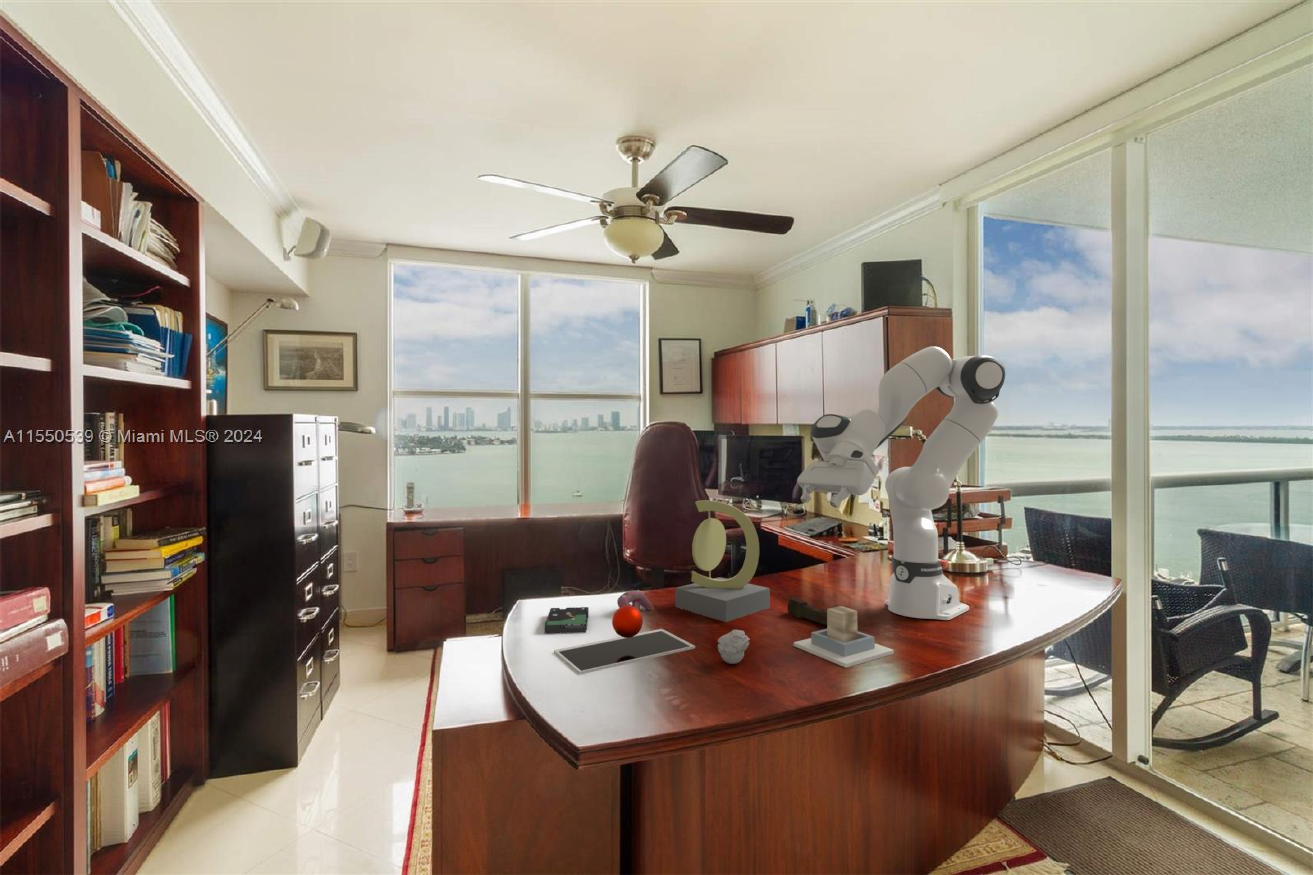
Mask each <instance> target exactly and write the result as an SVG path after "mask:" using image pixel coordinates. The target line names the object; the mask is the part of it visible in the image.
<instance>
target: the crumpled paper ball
mask: <svg viewBox="0 0 1313 875" xmlns="http://www.w3.org/2000/svg"><path fill="white" fill-rule="evenodd" d="M750 640H751V638H749V637H748V635H746V633H745V631H744V630H741V629H740V630H739V629H732V630H731V631H730V632H728V633H727V634H726V633H725V634H724V635H722V636H720V637H719V638H718V639H717V643H718V644H717V651H718V652H719V654H720V656H721V658H722V660H723V661H724V662H726V664H731V665H736V664H738V663H740V662H741V661H742V660H743V658H744V656H745V651H747V648H748V647H749V646H750Z"/></svg>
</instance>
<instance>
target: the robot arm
mask: <svg viewBox="0 0 1313 875" xmlns="http://www.w3.org/2000/svg"><path fill="white" fill-rule="evenodd" d="M1005 379H1006V369H1005V367H1004V365H1003V363H1002V362H1001V361H1000V360H999V359H997V358H995V357H993V356H990V355H985V354H983V355H982V354H981V355H968V356H962V357H957V358H951V356H950V355H949V353H948V352H947V351H945V350H944V349H943V348H941V347H938V346H936V345H935V346H933V345H931V346H928V347H924V348H923V349H921V350H918V351H917V352H915V353H913V354H911V355H909V356H908V357H906V358H904V359H903V360H901V361H900V362H898V363H897V364H896V365H893V367H891V368H890V369H889V370H888V371H886V372H885V373H884V375H882V377H881V380H880V382H879V386H878V410H877V412H875V411H873V410H872V409H871V410H870V409H866V408H865V409H861V410H860V411H857V412H856V413H853V414H848V415H839V414H833V413H826V414H824V415H822V416H821V417H819V418H818V419H816V421H815V422H813V425H812V427H811V430H810V435H811V438H812V439H813V441H814V444H815V445H816V449H817V450H818V452H819V454H820V455H821V457H822V460H821V459H820V460H816V461H814V462H811V463H810V464H808V465H807V466H806V467H805V468H804V470H803V471H802V472H801V473H800V474H799V475H798V477H797V479H796V481H797V485H799V487H800V488H801V489H802V492H803V493H802V495H801V497H800V500H801V501H802V502H803V503H806V504H807V503H809V502H810V501H811V500H812V497H811V496H810V495H811V494H813V493H814V492H820V493H830V494H831V493H832V494H836V495H832V496H831V498H830V499H829V504H830V505H831V506H832V507H838V506H839V505H840V503H841V502H843V501H845V500H846V499H847V498H849V497H850V495H854V496H862V495H864V494H866V493H867V492H868V491H869V489H870V488H871V487H872V486H873V485H872V484H873V483H874V481H875V479H876V478H875V477H876V476H877V475H878V474H879V473H880V470H879V468H878V466H877V464H876V463H875V462H874V460H873V459H872V457H871V455H872V453H874V452H875V451H876V450H877V449H878V448H879V447H880V446H881V445H882V444H884V442H886V441H887V440H888V439H889V438H890V437H891V436H892V435H893V434H895V432H896V431H897V430H898V429H899V428H901V426H902V425H904V423H905V421H906V419H907V418H908V415H909V414H910V412H911V410H912V409H913V407H914V406H915V405H916V404H917V403H918V402H919V401H921V399H923V397H925V396H927V394H929V393H930V392H932V391H933V390H936V391H937V392H939V393H940V394H941V395H943V396H945V397H948V398H954V403H953V405H952V408H951V410H950V411H949V413H948V414H946V416H944V418H943V419H942V420H941V421H940V423H939V424H938V425H937V427H936V428H935V429H934V430H933V432H932V433H931V434H930V435H929V436H928V438H926V440H925V441H924V443H923V447H922V450H921V451H920V454H919V455H918V457H917V459H916V461H915V462H914V464H912V465H911V466H902V467H899V468H897V469H895V470H893V471H891V472H890V473H889V474H888V475H887V477H886V480H885V484H884V487H885V491H886V494H887V499H888V506H889V512H890V517H891V522H892V529H893V530H892V532H893V533H892V534H893V556H892V560H891V570H892V572H893V573H892V574H891V575H890V577H889V588H888V599H885V605H887V610H888V611H889V612H892V613H893V614H897V615H900V616H903V617H909V618H914V619H915V618H916V619H928V620H929V619H930V620H932V619H933V620H941V621H949V620H952V619H954V618H956V617H958V616H960V615H962V614H964V613H966V612H968V611H970V606H969V605H968V604H966V603H963V602H960V593H959V592H960V591H959V588H958V587H957V585H956V584H954V582H952V581H951V580H949V579H948V577H946V575H944V570H943V569H947V568H948V567H949V562H948V560H943V559H939V533H938V528H937V526H936V524H935V521H934V517H933V512H932V511H933V510H935V509H939V508H940V507H942V506H943V505H945V503H946V502H947V500H948V499H949V496H950V489H951V487H952V486H953V483H954V481H955V479H956V477H957V475H958V474H959V471H960V470H961V469H962V467H963V465H964V464H965V463H966V461H968V459H969V458H970V457H971V455H972V454H974V452H975V450H977V448H978V447H979V446H980V445H981V443H982V442H983V441H984V440H985V438H986V437H987V436H988V434H989V432H990V431H991V429H992V427H993V426H994V424H995V423H996V421H997V418H998V416H999V410H998V407H997V405H996V404H995V403H994V401H995V400H997V398H998V397H999V396H1000V392H1001V389H1002V387H1003V386H1004V382H1005Z"/></svg>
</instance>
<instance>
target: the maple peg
mask: <svg viewBox="0 0 1313 875" xmlns="http://www.w3.org/2000/svg"><path fill="white" fill-rule="evenodd" d="M826 611H827V626H826V627H827V628H826V629H827V637H830V638H833V639H835V640H838V641H841V642H843V643H845V642H849V641H853V640H857V631H858V611H857V610H856V609H852V608H848V607H846V606H843V605H841V606H840V605H839V606H836V607H831V608H827V609H826Z"/></svg>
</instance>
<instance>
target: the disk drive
mask: <svg viewBox="0 0 1313 875" xmlns="http://www.w3.org/2000/svg"><path fill="white" fill-rule="evenodd" d="M588 622H589V607H588V606H581V607H574V606H573V607H566V608H560V607H551V608H550V609H549V611H548V615H547V617H546V620H545V623H544V635H546V634H547V635H548V634H551V635H553V634H579V633H581V634H582V633H587V630H588Z"/></svg>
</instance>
